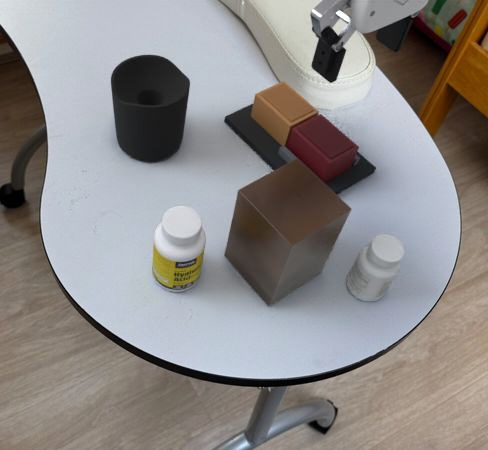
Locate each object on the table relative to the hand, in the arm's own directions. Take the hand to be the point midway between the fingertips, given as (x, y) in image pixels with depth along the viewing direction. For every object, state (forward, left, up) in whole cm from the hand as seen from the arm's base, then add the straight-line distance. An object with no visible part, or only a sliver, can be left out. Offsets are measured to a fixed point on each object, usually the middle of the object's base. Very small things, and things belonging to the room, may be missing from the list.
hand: (356, 59), depth 62 cm
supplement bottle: (-3, +24, -18) cm, 30 cm away
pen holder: (+16, +15, -18) cm, 28 cm away
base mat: (+4, -1, -18) cm, 18 cm away
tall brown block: (-8, +14, -18) cm, 24 cm away
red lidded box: (+1, -1, -17) cm, 17 cm away
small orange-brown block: (+8, -1, -17) cm, 18 cm away
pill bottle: (-16, +7, -18) cm, 25 cm away
